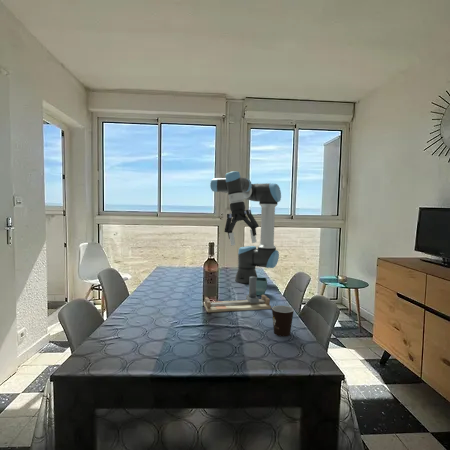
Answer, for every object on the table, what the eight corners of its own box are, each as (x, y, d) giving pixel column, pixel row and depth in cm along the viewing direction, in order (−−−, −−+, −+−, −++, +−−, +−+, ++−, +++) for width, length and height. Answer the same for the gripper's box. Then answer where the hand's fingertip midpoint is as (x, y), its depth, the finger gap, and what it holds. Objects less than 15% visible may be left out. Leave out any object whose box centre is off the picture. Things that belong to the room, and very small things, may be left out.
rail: (203, 304, 165) (203, 296, 164) (263, 301, 172) (263, 293, 171) (207, 312, 153) (207, 303, 153) (271, 308, 160) (271, 300, 160)
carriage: (246, 298, 167) (246, 275, 166) (254, 298, 168) (254, 275, 167) (250, 302, 160) (250, 279, 159) (258, 302, 161) (259, 278, 160)
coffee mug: (293, 338, 125) (293, 313, 124) (270, 336, 127) (271, 311, 126) (292, 327, 136) (293, 304, 135) (272, 325, 138) (272, 302, 137)
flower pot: (266, 292, 189) (266, 277, 188) (266, 297, 180) (267, 281, 179) (251, 291, 190) (251, 276, 189) (251, 296, 181) (251, 280, 180)
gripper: (214, 206, 168) (220, 247, 168) (252, 197, 152) (259, 242, 151) (223, 206, 174) (229, 245, 173) (261, 197, 158) (268, 240, 157)
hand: (243, 244), depth 162 cm, fingers open, 13 cm apart
